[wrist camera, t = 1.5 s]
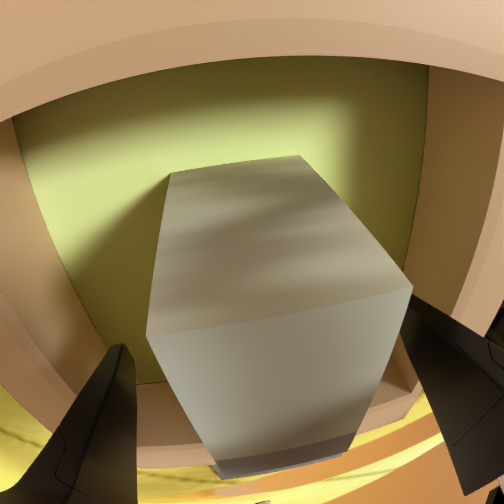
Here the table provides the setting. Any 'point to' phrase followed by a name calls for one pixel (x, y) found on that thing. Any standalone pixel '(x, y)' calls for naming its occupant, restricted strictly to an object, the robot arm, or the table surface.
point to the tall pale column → (264, 502)
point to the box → (270, 312)
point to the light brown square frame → (237, 47)
